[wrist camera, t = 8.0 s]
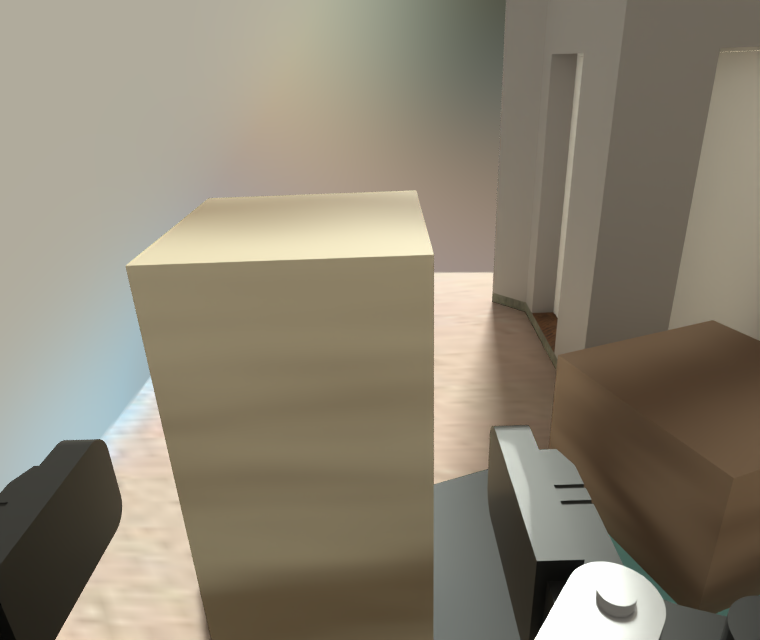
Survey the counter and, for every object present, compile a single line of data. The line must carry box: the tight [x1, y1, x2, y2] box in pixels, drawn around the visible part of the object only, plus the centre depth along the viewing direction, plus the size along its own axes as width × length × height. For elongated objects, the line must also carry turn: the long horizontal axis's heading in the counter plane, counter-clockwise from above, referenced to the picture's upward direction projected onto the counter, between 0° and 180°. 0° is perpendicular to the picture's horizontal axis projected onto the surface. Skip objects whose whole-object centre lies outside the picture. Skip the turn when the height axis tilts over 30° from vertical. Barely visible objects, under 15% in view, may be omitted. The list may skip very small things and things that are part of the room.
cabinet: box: [492, 0, 760, 370], centre depth 25 cm, size 21×10×28 cm, turn 43°
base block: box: [549, 320, 760, 614], centre depth 19 cm, size 7×7×5 cm
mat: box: [433, 469, 760, 640], centre depth 17 cm, size 13×20×1 cm, turn 110°
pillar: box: [126, 191, 434, 640], centre depth 13 cm, size 4×4×12 cm
